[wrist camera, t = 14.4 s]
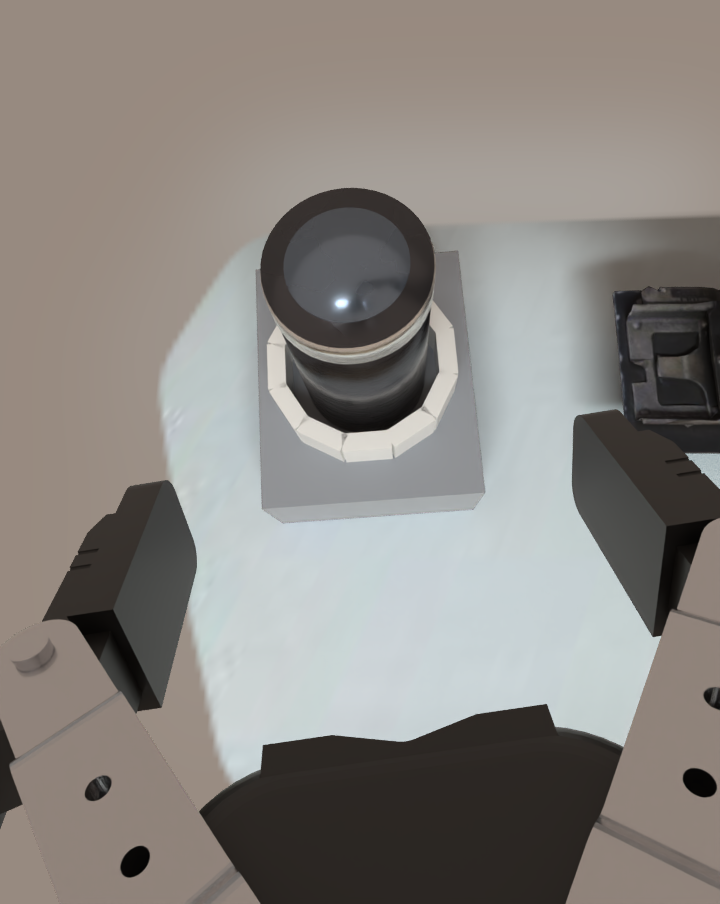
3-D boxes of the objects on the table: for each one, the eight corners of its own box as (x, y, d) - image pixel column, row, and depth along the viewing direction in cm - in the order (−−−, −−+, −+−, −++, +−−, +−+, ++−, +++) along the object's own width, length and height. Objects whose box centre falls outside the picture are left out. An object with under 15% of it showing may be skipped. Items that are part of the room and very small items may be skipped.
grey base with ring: (450, 299, 36) (461, 226, 29) (473, 509, 33) (491, 484, 26) (275, 314, 36) (245, 247, 29) (282, 523, 33) (251, 501, 26)
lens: (420, 316, 30) (428, 177, 20) (430, 429, 29) (444, 338, 19) (304, 326, 30) (256, 194, 21) (308, 438, 29) (260, 354, 19)
